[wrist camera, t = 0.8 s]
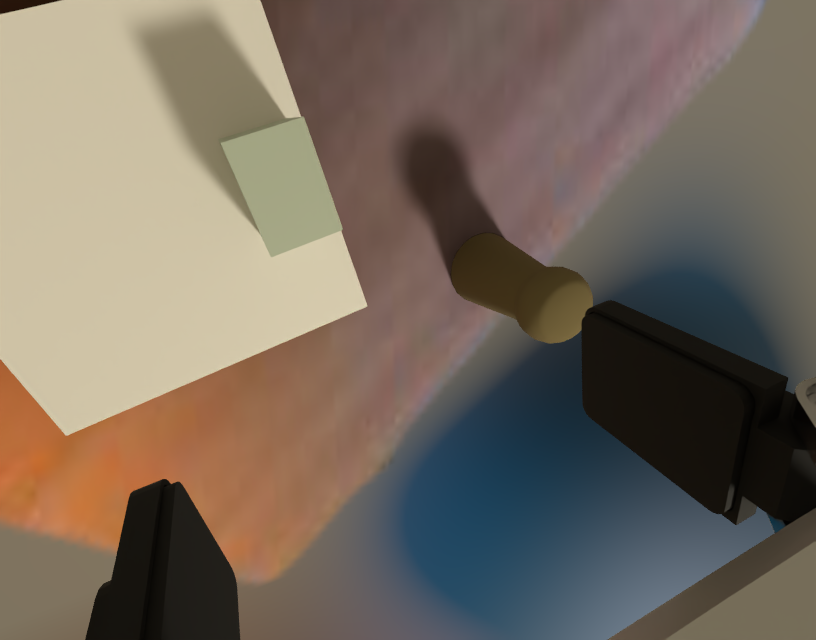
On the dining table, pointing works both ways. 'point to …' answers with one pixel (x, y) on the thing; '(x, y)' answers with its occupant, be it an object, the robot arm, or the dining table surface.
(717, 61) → the dining table surface
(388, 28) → the dining table surface
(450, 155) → the dining table surface
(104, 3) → the lid
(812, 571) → the robot arm
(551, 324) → the cork
